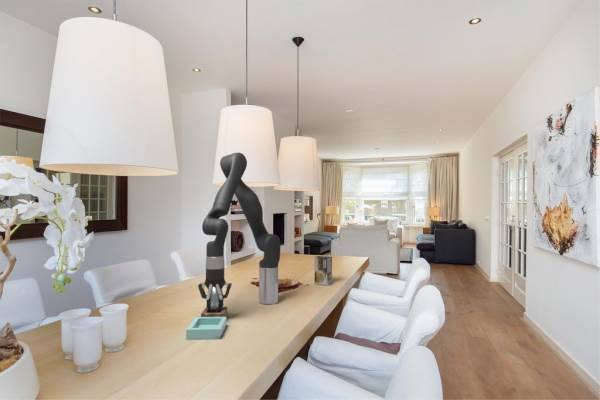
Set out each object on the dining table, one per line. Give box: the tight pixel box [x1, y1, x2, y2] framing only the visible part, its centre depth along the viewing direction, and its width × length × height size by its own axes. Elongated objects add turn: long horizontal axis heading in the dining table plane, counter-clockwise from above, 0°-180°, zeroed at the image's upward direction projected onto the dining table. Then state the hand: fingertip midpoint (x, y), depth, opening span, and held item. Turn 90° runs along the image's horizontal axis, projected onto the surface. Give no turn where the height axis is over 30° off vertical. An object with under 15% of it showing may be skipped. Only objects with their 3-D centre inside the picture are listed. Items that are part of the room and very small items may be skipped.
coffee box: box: [313, 255, 333, 287], centre depth 204 cm, size 9×6×16 cm
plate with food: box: [250, 277, 310, 292], centre depth 201 cm, size 25×26×4 cm
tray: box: [185, 316, 228, 341], centre depth 127 cm, size 12×13×4 cm
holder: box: [200, 306, 228, 318], centre depth 140 cm, size 9×9×4 cm
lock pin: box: [210, 286, 220, 313], centre depth 140 cm, size 4×4×14 cm
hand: (214, 308), depth 140 cm, fingers closed on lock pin, 4 cm apart
